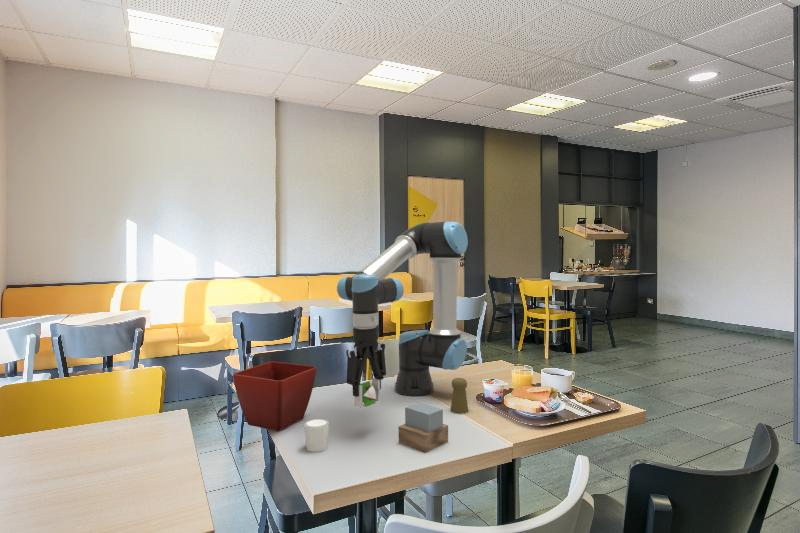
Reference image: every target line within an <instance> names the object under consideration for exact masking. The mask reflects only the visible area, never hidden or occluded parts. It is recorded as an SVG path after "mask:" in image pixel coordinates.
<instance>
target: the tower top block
mask: <svg viewBox="0 0 800 533" xmlns="http://www.w3.org/2000/svg"><path fill="white" fill-rule="evenodd" d="M443 411H444V409H443V408H440V407H437V406H434V405H429V404H427V403H423V402H416V403H413V404H410V405H407V406H405V407H404V416H405V417H404V424H406V425H408V426H411V427H414V428H417V429H420V430H423V431H426V432H428V433H429V432H432V431H434V430H436V429H439V428H441V427H443V424H444V420H443V419H444V412H443Z"/></svg>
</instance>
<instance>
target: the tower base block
mask: <svg viewBox="0 0 800 533" xmlns="http://www.w3.org/2000/svg"><path fill="white" fill-rule="evenodd" d="M448 442H449V425H448V424H445V423H443V427H441V428H439V429H436V430H434V431H432V432H429V433H428V432H426V431H423V430H420V429H417V428H414V427H411V426H408V425H406V424H405V423H402V424H401V425H398V444H401V445H404V446H407V447H410V448H412V449H415V450H417V451H420V452H423V453H428V452H430V451H432V450H434V449H437V448H438V447H440V446H442V445H445V444H447V443H448Z"/></svg>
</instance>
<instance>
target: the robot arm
mask: <svg viewBox="0 0 800 533" xmlns="http://www.w3.org/2000/svg"><path fill="white" fill-rule="evenodd" d="M468 243H469V240H468V234H467V232H466V229H465V227H464V226H463V225H462V224H461V223H459V222H457V221H449V220H448V221H439V222H437V221H436V222H421V223H418V224H416V225H414V226H412V227H410V228H408V229H407V230H405V231H404V232H402V233H401V234H399V235H398V236H397V237H396V238H395V239H394V243H393V244H391V245H390V246H389V247H388V248H386V249H385V250H384V251H383V252H382V253H380V254H379V255H378V256H377V257H375V258H374V259H373V260H372V261H370V262H369V263H368V264H367V265H365V266H364V267H363V268H362V269H361V270H359V271H358V272H356V273H355V274H353V276H347V277H346V276H345V277H342V278H340V279H339V280H338V282H337V286H336V292H337V295H338V296H339V298H340V299H342V300H347V301H349V302H350V301H351V302H352V326H353V327H354V328H352V336H353V337H352V340H353V341H354V346H353V348H352V349H347V350H346V351H345V352H346V354H345V355H346V357H347V363H346V364H347V365H346V384H348V385H351V387H352V396H353V397H354V398H353V399H354V406H355V407H357V408H360V409H361V408H362V409H363V408H364V406H363V404H364V402H363V401H362V385H360V384H361V380H362V375H363V371H364V367H365V363H366V362H367V359H368V362H369V365H370V368H371V372H372V375H373V378H371V385H373V387H374V385H375V387H374V389H375V391H376V398H377V400H376V399H375V402H381V389H382V381H383V380H384V378H385V376H387V368H386V366H387V365H386V354H385V352H386V349H385V348H386V344H385V343H382V342H378V340H379V327H378V325H379V305H383V304H388V303H391V304H392V303H394V302H397V301H399V300H401V299H402V298H403V296H404V293H405V292H404V291H405V290H404V289H405V287H404V284H403V283H402V281H401V280H400V279H399V278H397V277H389V275H391V274H392V273H393V272H394V271H395V270H397V268H399V267H400V266H401V265H402V264H403V263H405V262H406V261H407V260H411V259H413V258H414V257H416V256H417V255H421V254H429V260H431V262H432V263H433V293H432V294H433V300H432V301H433V303H432V304H433V306H432V307H433V309H432V310H433V311H432V313H433V315H432V316H433V317H432V318H433V319H432V321H433V322H432V323H433V324H432V328H431V329H430V330H428V329H417V330H409V331H403V332H401V333H400V334H399V336H398V339H399V340H398V368H399V369H398V373H397V376H396V381H395V383H394V391H395V393H397V394H400V395H403V396H410V397H413V396H414V397H415V396H417V397H418V396H425V395H429V394H432V393H434V390H435V388H434V386H435V384H434V382H433V380H432V375H431V372H430V367H432V368H437V369H443V370H445V371H446V370H449V371H451V370H452V371H455V370H458V369H459V368H460V367H461V366H462V365H463V363H464V362H465V359H466V356H467V349H468V347H467V342H466V341H465V339H464V338H462V337H461V331H460V330H459V329H458V328H457V326H458V324H457V321H458V320H457V315H458V314H457V313H458V312H457V308H458V307H457V306H458V305H457V303H458V302H457V301H458V296H457V295H458V291H457V290H458V288H457V287H458V284H457V283H458V263H459V262H460V261H461V259H462V254H464V253H466V252H467V248H468V245H469V244H468Z"/></svg>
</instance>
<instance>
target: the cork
mask: <svg viewBox="0 0 800 533" xmlns="http://www.w3.org/2000/svg"><path fill="white" fill-rule="evenodd" d="M451 386H452V389H453V390H452V398H451V403H450V404H451V405H450V412H451V413H453V414H458V415H460V414H461V413H464V414H466V412H467V413H468V412H469V406H468V398H467V390H466V388H468V382H467V380H466V379H465V378H464V377H463V378H462V377H454V378H453V379H452V380H451ZM461 415H462V414H461Z"/></svg>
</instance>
